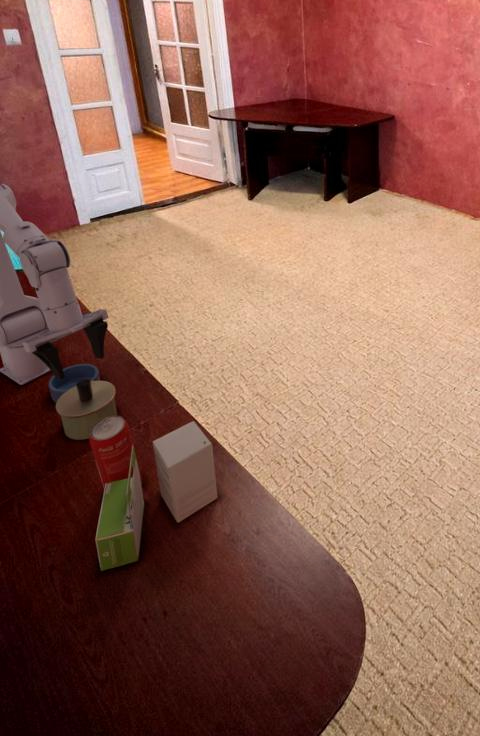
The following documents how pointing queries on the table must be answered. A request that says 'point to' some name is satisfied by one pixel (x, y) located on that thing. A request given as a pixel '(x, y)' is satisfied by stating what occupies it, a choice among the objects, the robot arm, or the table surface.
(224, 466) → the table surface
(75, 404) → the lid
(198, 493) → the white packaging box
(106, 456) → the beverage can
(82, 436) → the pot
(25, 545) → the table surface
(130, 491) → the ink box
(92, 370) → the pan
